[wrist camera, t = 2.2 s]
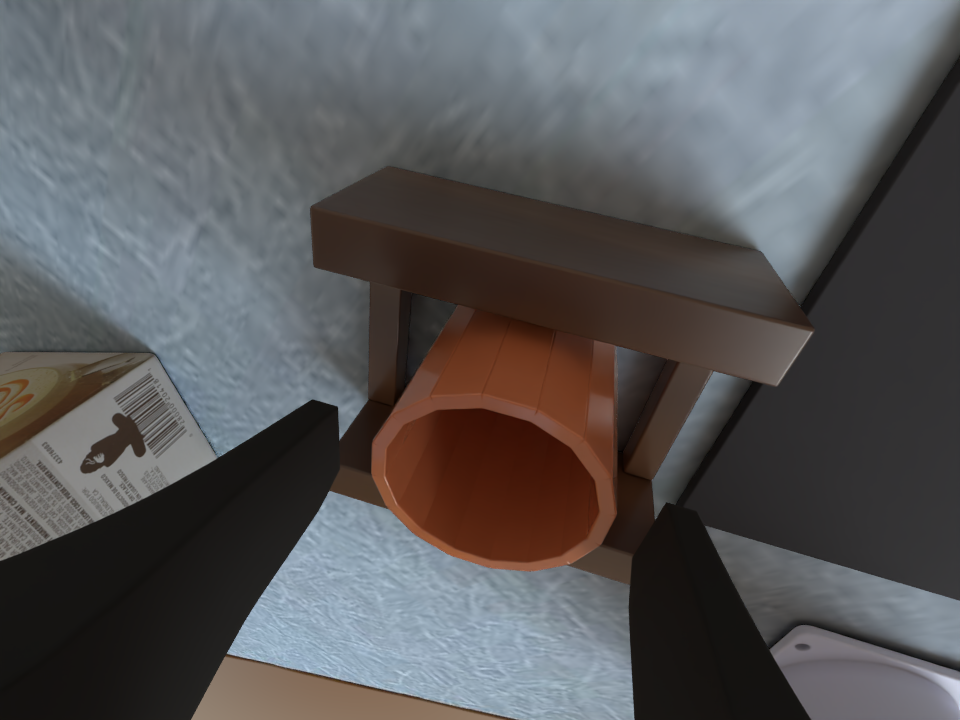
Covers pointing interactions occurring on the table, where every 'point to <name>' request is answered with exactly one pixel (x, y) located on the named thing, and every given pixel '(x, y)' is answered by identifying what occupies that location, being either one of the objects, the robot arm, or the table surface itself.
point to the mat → (865, 390)
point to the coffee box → (86, 440)
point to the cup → (504, 444)
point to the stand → (555, 308)
